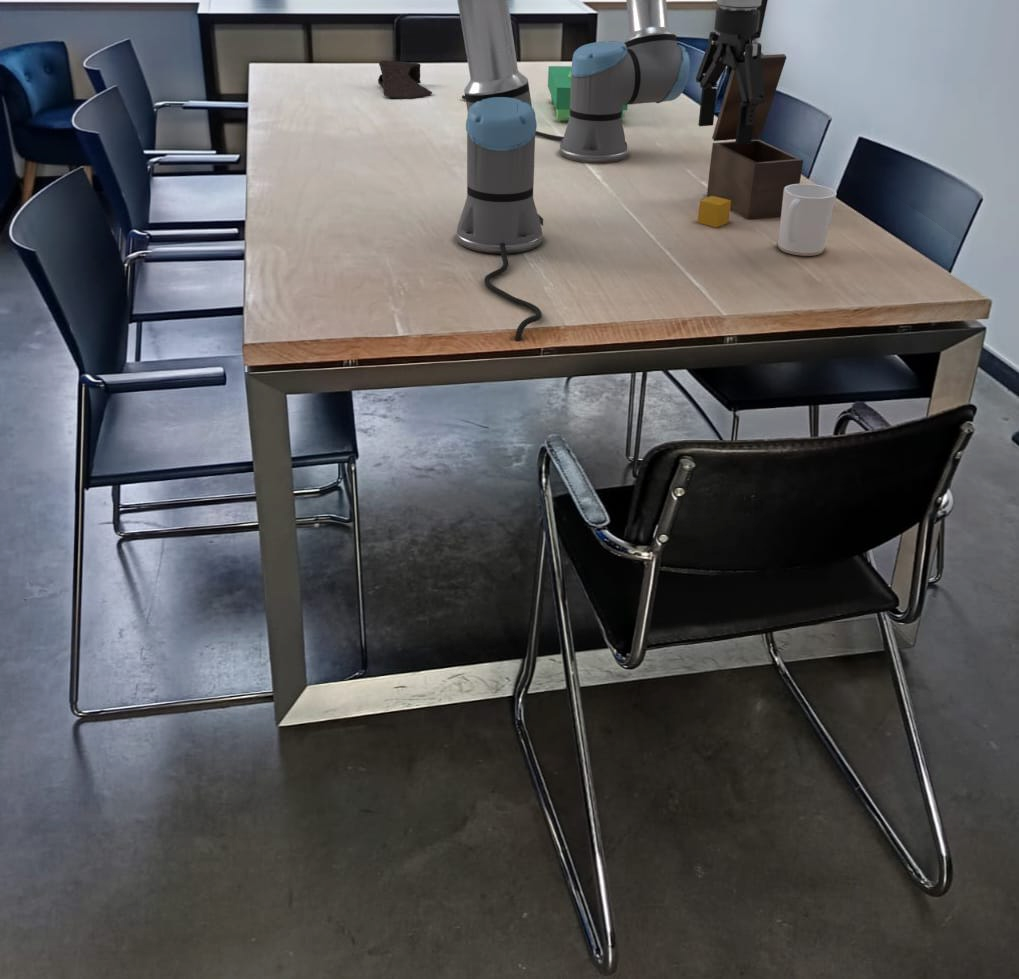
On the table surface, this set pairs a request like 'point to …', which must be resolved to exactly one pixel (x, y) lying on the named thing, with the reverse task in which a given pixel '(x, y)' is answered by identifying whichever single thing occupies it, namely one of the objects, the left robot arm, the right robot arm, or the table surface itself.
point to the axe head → (401, 79)
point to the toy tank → (562, 91)
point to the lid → (733, 98)
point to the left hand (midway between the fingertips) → (723, 134)
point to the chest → (752, 176)
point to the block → (714, 211)
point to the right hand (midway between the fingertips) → (736, 73)
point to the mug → (805, 218)
